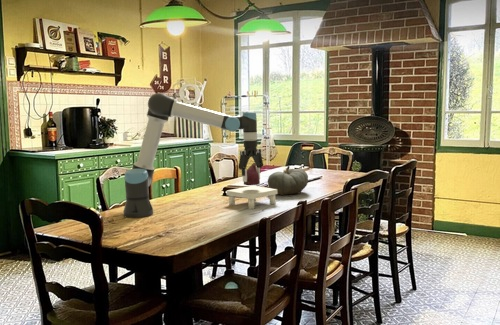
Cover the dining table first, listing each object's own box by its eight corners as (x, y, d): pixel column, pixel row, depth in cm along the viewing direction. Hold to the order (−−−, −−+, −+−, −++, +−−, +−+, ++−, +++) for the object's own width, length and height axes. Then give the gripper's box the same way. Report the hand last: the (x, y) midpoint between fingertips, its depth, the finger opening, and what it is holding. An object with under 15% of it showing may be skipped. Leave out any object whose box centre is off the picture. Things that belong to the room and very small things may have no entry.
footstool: (227, 204, 273) (226, 190, 272) (253, 199, 286) (252, 185, 285) (251, 209, 258) (250, 194, 257) (277, 203, 271) (277, 189, 270)
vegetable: (262, 188, 271) (268, 165, 268) (249, 188, 265) (255, 165, 262) (251, 182, 278) (257, 160, 275) (239, 182, 271) (244, 159, 268)
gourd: (318, 188, 298) (312, 161, 295) (287, 201, 284) (280, 172, 282) (293, 188, 319) (287, 162, 316) (262, 199, 305) (256, 172, 303)
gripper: (260, 138, 278) (261, 177, 281) (230, 141, 263) (232, 182, 266) (269, 138, 272) (270, 178, 275) (239, 141, 258) (241, 183, 260)
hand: (251, 180), depth 271 cm, fingers closed on vegetable, 9 cm apart
